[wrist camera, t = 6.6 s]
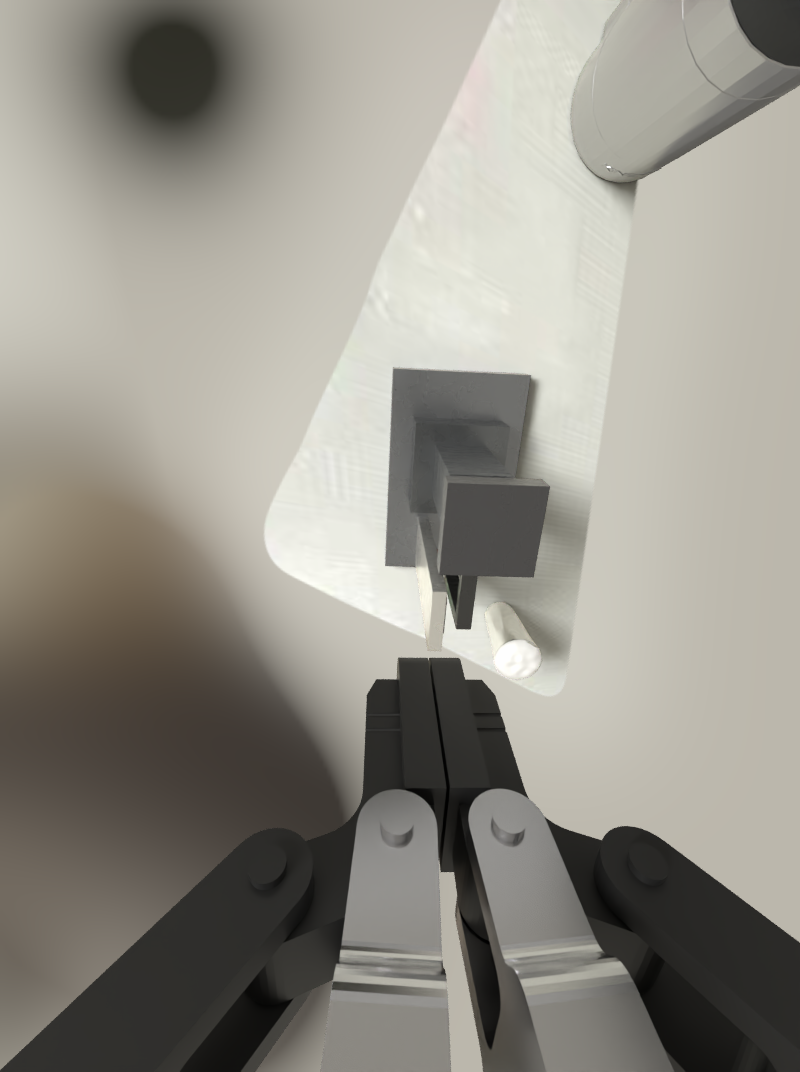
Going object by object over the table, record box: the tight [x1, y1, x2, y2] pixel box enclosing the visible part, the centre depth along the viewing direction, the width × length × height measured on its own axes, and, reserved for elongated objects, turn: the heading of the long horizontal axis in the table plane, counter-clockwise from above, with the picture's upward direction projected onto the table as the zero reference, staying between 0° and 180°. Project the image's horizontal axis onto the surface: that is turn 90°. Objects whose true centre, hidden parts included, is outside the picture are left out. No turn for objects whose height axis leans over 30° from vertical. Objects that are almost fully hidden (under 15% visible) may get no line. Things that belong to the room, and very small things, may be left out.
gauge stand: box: [385, 367, 531, 651], centre depth 38 cm, size 19×12×16 cm, turn 177°
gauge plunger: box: [437, 476, 550, 629], centre depth 34 cm, size 10×6×12 cm, turn 177°
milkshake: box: [484, 602, 542, 680], centre depth 47 cm, size 4×5×10 cm
